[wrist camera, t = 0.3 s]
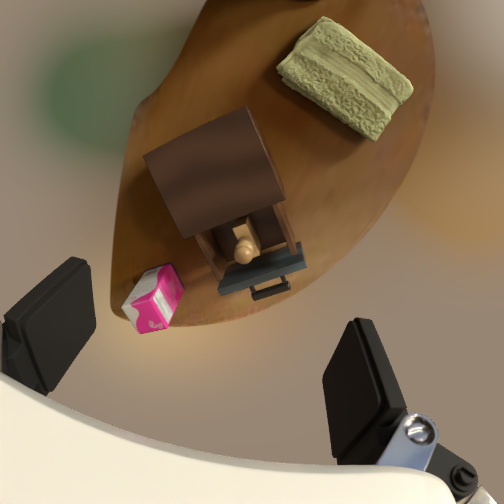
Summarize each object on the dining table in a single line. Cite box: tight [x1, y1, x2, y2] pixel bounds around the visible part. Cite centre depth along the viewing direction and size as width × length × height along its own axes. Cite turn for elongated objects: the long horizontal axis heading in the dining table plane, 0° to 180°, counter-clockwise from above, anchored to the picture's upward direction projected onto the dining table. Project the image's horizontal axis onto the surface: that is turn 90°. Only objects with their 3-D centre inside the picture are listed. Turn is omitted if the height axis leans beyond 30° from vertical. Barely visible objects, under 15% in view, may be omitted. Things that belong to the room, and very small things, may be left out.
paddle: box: [232, 214, 261, 264], centre depth 40 cm, size 5×2×10 cm, turn 23°
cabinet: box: [143, 106, 286, 239], centre depth 39 cm, size 12×14×8 cm
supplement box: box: [121, 263, 184, 334], centre depth 47 cm, size 6×6×12 cm
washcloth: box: [276, 17, 413, 142], centre depth 34 cm, size 13×18×3 cm
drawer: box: [194, 202, 307, 301], centre depth 44 cm, size 15×13×7 cm
